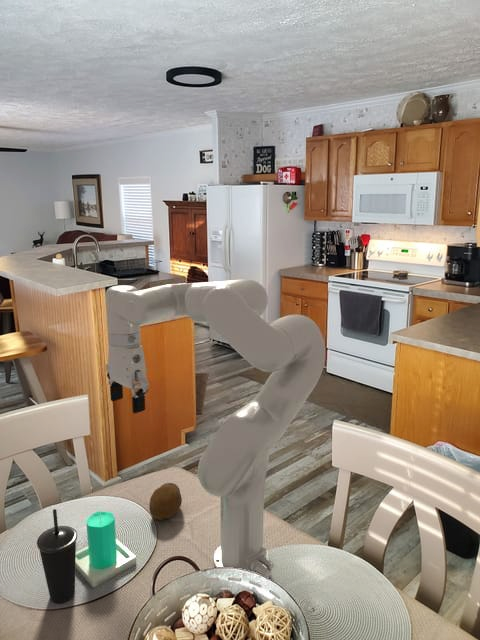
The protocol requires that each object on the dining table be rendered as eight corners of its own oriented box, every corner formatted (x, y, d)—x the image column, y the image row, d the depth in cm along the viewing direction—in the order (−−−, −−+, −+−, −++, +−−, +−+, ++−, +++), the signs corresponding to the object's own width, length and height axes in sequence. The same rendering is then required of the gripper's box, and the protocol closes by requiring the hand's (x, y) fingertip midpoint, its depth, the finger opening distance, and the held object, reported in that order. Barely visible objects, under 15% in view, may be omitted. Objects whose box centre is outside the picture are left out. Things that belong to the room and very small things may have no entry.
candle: (110, 570, 111) (107, 522, 108) (84, 567, 112) (80, 519, 109) (121, 552, 117) (118, 506, 114) (96, 548, 118) (93, 503, 115)
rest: (136, 563, 114) (135, 556, 114) (93, 588, 107) (92, 580, 107) (111, 540, 122) (111, 534, 121) (70, 562, 115) (69, 555, 114)
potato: (185, 500, 138) (184, 474, 136) (178, 529, 126) (177, 502, 124) (155, 499, 138) (154, 474, 136) (145, 528, 126) (144, 501, 124)
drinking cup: (60, 577, 110) (52, 495, 105) (89, 587, 108) (82, 503, 103) (34, 602, 103) (24, 516, 98) (65, 614, 101) (56, 526, 96)
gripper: (159, 343, 117) (161, 412, 121) (118, 328, 129) (121, 391, 133) (131, 349, 112) (134, 421, 116) (91, 333, 124) (95, 399, 128)
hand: (127, 405), depth 124 cm, fingers open, 9 cm apart
